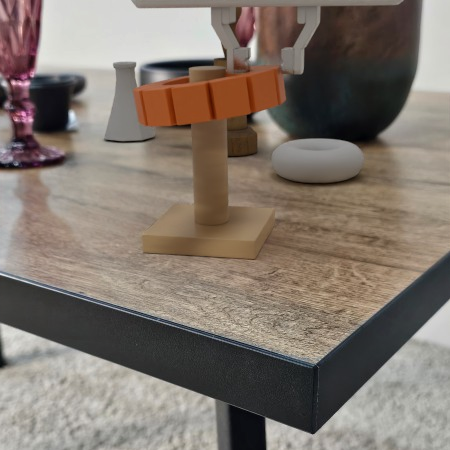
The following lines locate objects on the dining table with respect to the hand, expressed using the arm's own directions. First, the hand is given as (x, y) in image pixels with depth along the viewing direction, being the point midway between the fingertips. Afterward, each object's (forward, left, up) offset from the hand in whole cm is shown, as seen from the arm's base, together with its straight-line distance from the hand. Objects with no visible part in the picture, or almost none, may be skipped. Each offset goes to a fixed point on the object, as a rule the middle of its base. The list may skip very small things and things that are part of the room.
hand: (265, 73), depth 55 cm
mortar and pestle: (-10, +34, -13) cm, 38 cm away
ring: (-4, 0, -3) cm, 5 cm away
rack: (-4, 0, -13) cm, 14 cm away
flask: (-26, +41, -13) cm, 51 cm away
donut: (+2, +23, -13) cm, 27 cm away
